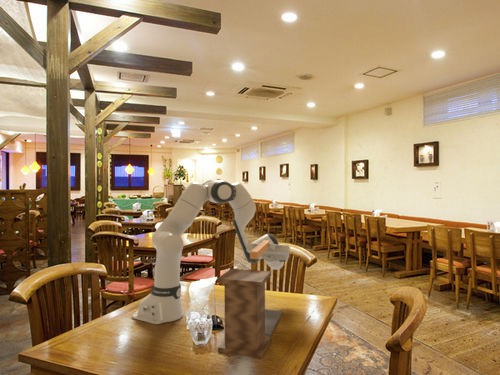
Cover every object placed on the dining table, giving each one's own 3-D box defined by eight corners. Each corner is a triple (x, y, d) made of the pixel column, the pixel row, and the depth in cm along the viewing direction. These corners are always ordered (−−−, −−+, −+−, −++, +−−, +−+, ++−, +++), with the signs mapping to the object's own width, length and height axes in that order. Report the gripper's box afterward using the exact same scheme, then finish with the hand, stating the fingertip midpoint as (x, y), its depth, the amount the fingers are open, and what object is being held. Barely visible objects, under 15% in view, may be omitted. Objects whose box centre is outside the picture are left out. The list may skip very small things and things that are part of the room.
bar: (249, 258, 131) (249, 251, 131) (263, 246, 152) (263, 240, 152) (257, 259, 130) (257, 251, 130) (270, 247, 151) (270, 240, 151)
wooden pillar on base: (217, 351, 116) (217, 278, 116) (231, 334, 130) (231, 268, 130) (261, 358, 112) (261, 282, 111) (271, 339, 125) (270, 271, 125)
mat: (235, 332, 131) (235, 329, 131) (252, 310, 154) (252, 307, 154) (269, 336, 127) (269, 334, 127) (282, 313, 150) (282, 311, 150)
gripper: (251, 246, 164) (243, 236, 152) (292, 248, 158) (287, 238, 147) (249, 258, 161) (241, 249, 150) (291, 261, 155) (286, 252, 144)
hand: (264, 244), depth 148 cm, fingers closed on bar, 3 cm apart
